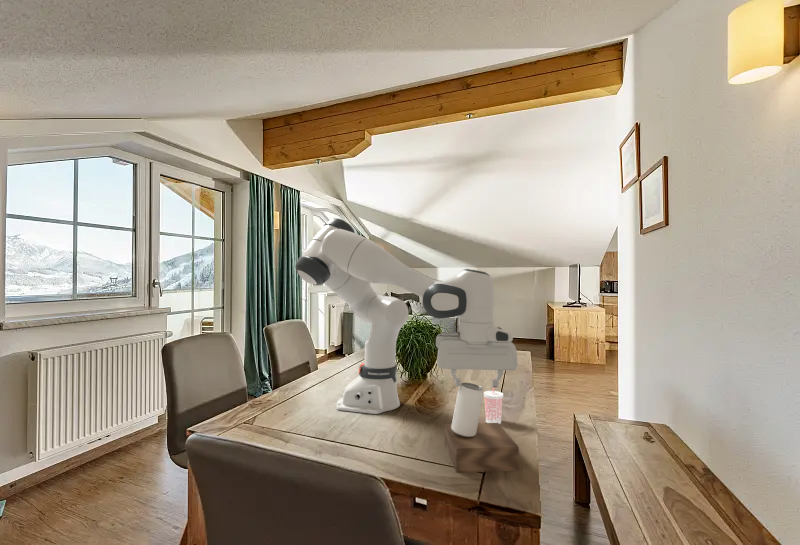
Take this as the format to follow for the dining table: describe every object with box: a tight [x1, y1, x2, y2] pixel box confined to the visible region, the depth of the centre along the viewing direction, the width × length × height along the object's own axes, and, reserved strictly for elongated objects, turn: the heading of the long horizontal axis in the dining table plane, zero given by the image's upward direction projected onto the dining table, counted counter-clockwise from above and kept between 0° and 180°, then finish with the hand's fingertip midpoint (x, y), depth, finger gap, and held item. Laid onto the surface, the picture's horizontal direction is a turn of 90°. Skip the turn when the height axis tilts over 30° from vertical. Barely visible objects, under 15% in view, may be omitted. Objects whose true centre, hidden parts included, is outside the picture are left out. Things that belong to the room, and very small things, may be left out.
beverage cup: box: [483, 377, 504, 425], centre depth 121 cm, size 6×6×14 cm
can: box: [451, 382, 484, 437], centre depth 98 cm, size 6×6×12 cm
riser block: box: [444, 422, 520, 473], centre depth 98 cm, size 15×15×6 cm
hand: (476, 386), depth 98 cm, fingers open, 8 cm apart
